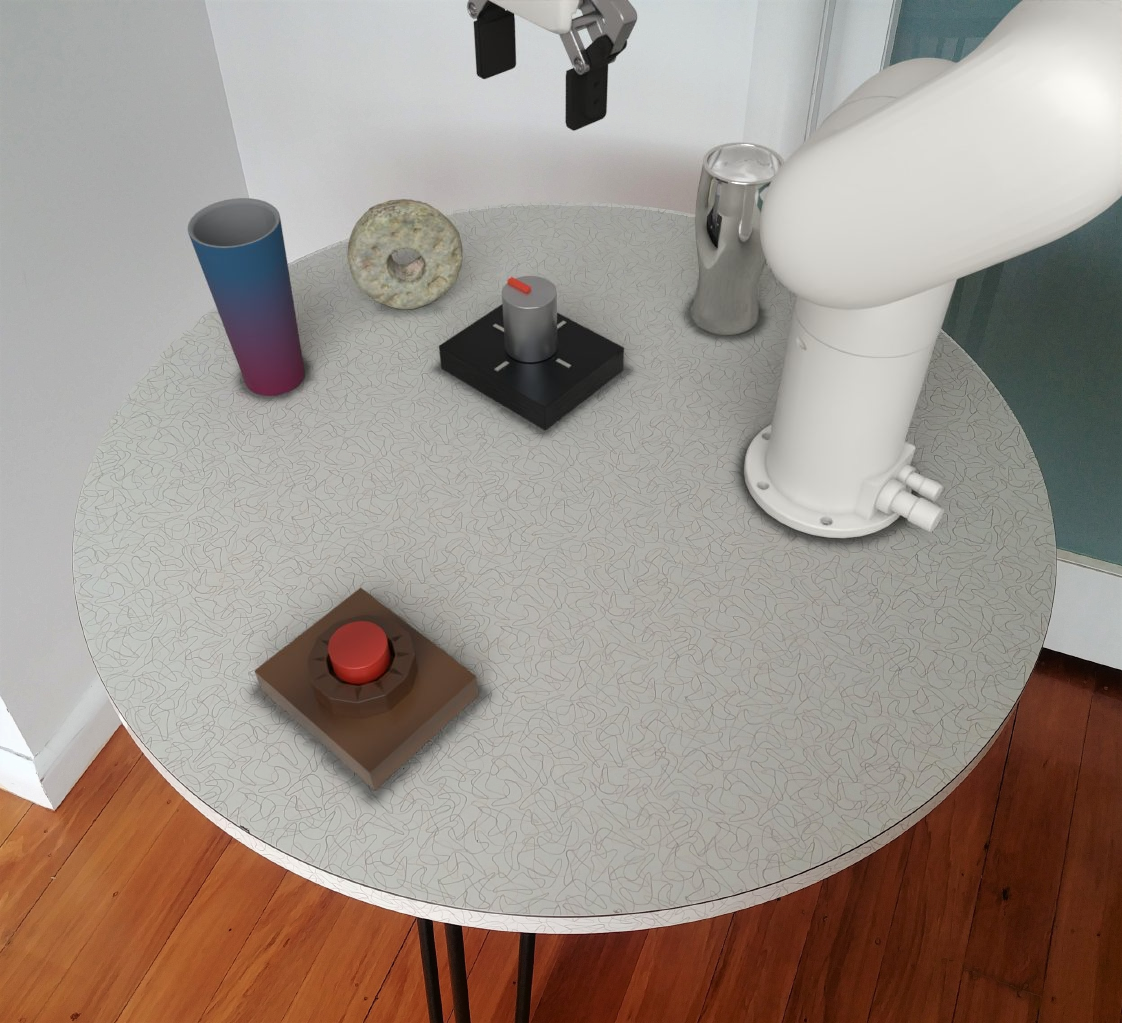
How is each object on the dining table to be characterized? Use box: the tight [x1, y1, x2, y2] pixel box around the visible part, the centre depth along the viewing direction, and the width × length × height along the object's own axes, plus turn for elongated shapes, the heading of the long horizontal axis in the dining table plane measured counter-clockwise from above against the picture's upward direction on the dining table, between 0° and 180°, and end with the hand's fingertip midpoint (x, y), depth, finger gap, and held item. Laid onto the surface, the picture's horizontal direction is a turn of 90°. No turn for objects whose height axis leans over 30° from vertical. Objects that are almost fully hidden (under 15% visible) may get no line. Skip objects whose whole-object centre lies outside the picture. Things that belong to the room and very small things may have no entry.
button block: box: [254, 587, 479, 791], centre depth 67 cm, size 11×9×4 cm
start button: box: [328, 621, 391, 684], centre depth 65 cm, size 4×4×2 cm
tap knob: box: [501, 275, 558, 362], centre depth 87 cm, size 4×4×6 cm
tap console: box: [438, 303, 625, 431], centre depth 90 cm, size 12×10×3 cm
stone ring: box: [346, 198, 464, 310], centre depth 94 cm, size 10×4×10 cm, turn 96°
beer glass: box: [690, 141, 785, 336], centre depth 90 cm, size 7×7×15 cm
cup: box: [187, 197, 306, 397], centre depth 85 cm, size 7×7×15 cm
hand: (539, 97), depth 74 cm, fingers open, 9 cm apart
